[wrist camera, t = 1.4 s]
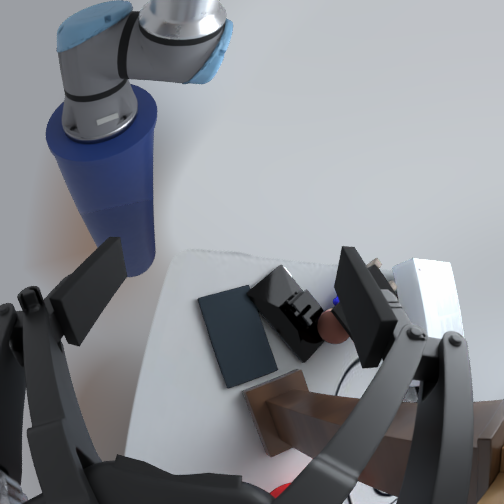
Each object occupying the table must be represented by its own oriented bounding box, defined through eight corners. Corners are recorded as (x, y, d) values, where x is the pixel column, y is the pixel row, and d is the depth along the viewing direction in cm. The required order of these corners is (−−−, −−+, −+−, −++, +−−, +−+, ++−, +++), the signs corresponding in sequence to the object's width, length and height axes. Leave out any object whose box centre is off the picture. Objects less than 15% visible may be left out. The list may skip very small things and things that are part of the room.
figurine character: (351, 267, 46) (300, 321, 37) (383, 248, 40) (336, 306, 31) (373, 298, 45) (328, 357, 37) (406, 282, 39) (367, 348, 31)
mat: (197, 299, 36) (198, 298, 35) (247, 285, 38) (248, 284, 38) (227, 388, 32) (227, 388, 32) (276, 369, 35) (278, 369, 35)
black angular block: (244, 294, 37) (257, 284, 33) (281, 263, 41) (296, 251, 37) (302, 363, 36) (321, 362, 32) (333, 329, 40) (353, 323, 36)
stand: (266, 454, 30) (462, 561, 3) (242, 390, 33) (472, 445, 5) (317, 429, 33) (529, 469, 6) (296, 369, 36) (530, 345, 8)
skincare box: (430, 270, 51) (390, 265, 44) (450, 261, 47) (415, 254, 40) (444, 367, 44) (407, 387, 37) (467, 363, 40) (435, 385, 32)
